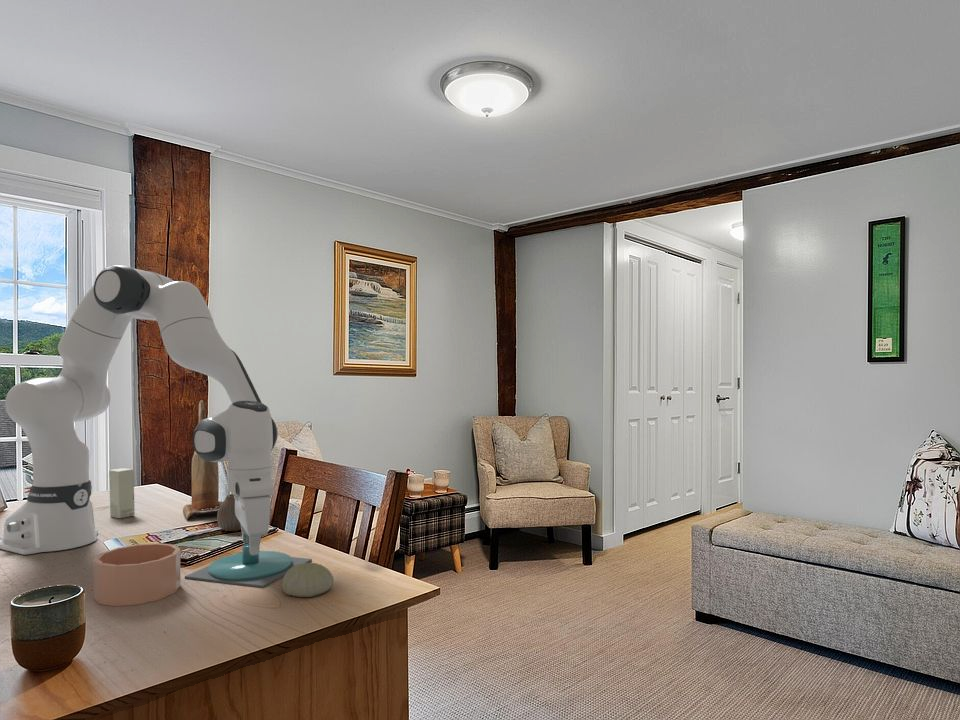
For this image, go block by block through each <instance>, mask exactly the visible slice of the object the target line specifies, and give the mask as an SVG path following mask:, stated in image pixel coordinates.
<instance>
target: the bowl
mask: <svg viewBox="0 0 960 720" xmlns="http://www.w3.org/2000/svg"><path fill="white" fill-rule="evenodd" d="M180 587H181V548H179V547H178V546H177V545H175V544H169V543H162V542H161V543H160V542H157V543H156V542H155V543H154V542H153V543H138V544H133V545H132V544H131V545H127V546H122V547H120V546H119V547H116V548H114V549H110V550H108V551H104V552H102V553H99V554H98V555H97V556H96V557H95V558H93V600H95V602H96V603H97V604H98V605H103V606H109V607H110V606H112V607H122V606H124V607H125V606H135V605H136V606H138V605H143V604H146V603H151V602H155V601H159V600H162V599H164V598H166V597H169V596H171V595H172V594H175V593H177V591H179V588H180Z"/></svg>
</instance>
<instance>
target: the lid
mask: <svg viewBox="0 0 960 720" xmlns="http://www.w3.org/2000/svg"><path fill="white" fill-rule="evenodd" d="M249 545H250V543H244V544H242V549H241V552H242V553H238V552H237V553H238V554H236V553H233V554H229V555H226V556H222V557H220V558H218V559H215V560H213V561H211V563H209V565H208V566H209V575H210V576H212V577H214V578H217V579H221V580H232V581H241V580H253V579H260V578H265V577H269V576H273V575H276V574H279V573H281V572H283V571H285V570H287V569H288V568H289V567H290V566H291V557H292V556H291V555H289V554H287V553H285V552H280V551H276V550H275V551H273V550H272V551H271V550H260V552H259V554H258V555H251V554H250V552H249Z"/></svg>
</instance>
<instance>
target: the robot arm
mask: <svg viewBox="0 0 960 720" xmlns="http://www.w3.org/2000/svg"><path fill="white" fill-rule="evenodd" d="M134 319H136V320H140V321H141V320H147V321H154V322H157V324H158V328H159V331H160V336H161V339H162V342H163V347H164V349H165V351H166V352H167V353H166V354H167V355H168V356H169V358H170V359H171V361H173V362H174V363H176V364H177V365H179V366H181V367H182V368H184V369H187V370H190V371H193V372H197V373H199V374H202V375H205V376H208V377H210V378H212V379H214V380H216V381H217V382H218V383H219V384H220V385H222V387H223V388H224V389H225V391H226V394H227V396H228V398H229V400H230V402H231V404H230V405H229V406H228V407H227V409H226V410H224V411H223V412H220V413H218V414H216V415H213V416H210V417H206V419H203V420H202V421H200V422H199V421H198V423H199V424H198V423H197V425H196V426H195V429H194V430H193V433H192V434H193V435H192V445H193V446H192V447H193V449H194V452H196V453H197V455H198V456H199V457H200V458H201V459H203V460H204V461H206V462H218V463H220V462H221V463H222V462H227V470H226V471H227V472H226V473H227V475H226V476H227V480H226V481H227V486H226V488H227V491H228V492H230V493H232V494H234V498H235V515H236V517H237V519H238V520H239V522H240V523H241V529H240V530H241V541H242V542H243V543H244V544H250V545H249V552H250V554H251V555H258V554H259V552H260V551H261V550H260V548H261V547H260V545H261V542H262V536H263V537H264V536H267V535H268V532H269V528H270V520H271V519H270V518H271V504H272V503H271V502H272V501H271V496H273V495H274V494H275V493H274V492H275V488H274V486H275V485H274V476H273V475H274V471H273V470H274V463H273V459H272V450H273V449H274V447H275V446H276V444H277V441H278V437H279V436H278V435H279V434H278V433H279V432H278V428H277V425H276V423H275V421H274V419H273V417H272V415H271V412H270V408H269V407H268V406H267V405H266V404H264V403H262V400H261V398H260V396H259V395H258V392H257V390H256V388H255V386H254V384H253V382H252V380H251V378H250V375H249V373H248V372H247V370H246V367H245V366H244V364H243V362H242V360H241V359H240V357H239V355H238V354H237V353H236V352H235V351H234V350H233V349H231V348H230V346H228V345H227V343H226V342H225V340H224V339H223V338H222V336H221V335H220V333H219V331H218V329H217V328H216V325H215V322H214V319H213V316H212V314H211V311H210V309H209V306H208V304H207V302H206V300H205V297H204V296H203V295H202V293H201V292H200V289H199V288H198V286H196V285H195V284H193V283H192V282H189V281H183V280H177V279H174V278H171V277H167V276H165V275H162V274H160V273H157V272H154V271H150V270H143V269H139V268H133V267H130V266H126V265H110V266H107V267H104V269H102V270H101V271H100V272H98V274H97V276H96V277H95V280H94V284H93V285H92V286H91V287H90V288H89V290H88V291H87V292H86V293H85V295H84V296H83V297H82V299H81V300H80V302H79V304H78V305H77V307H76V309H75V310H74V312H73V314H72V316H71V318H70V320H69V322H68V324H67V326H66V328H65V330H64V333H63V334H62V336H61V338H60V340H59V342H58V344H57V350H58V351H57V352H58V354H59V356H60V357H61V358H62V367H61V371H60V373H59V375H57V376H55V377H54V376H53V377H35V378H32V379H28V380H25V381H22V382H20V383H16V384H15V385H13V386H12V387H11V388H10V389H9V390H8V392H7V394H6V396H5V402H4V406H5V411H6V414H7V415H8V417H9V418H10V419H11V420H12V421H13V422H14V423H15V424H16V425H18V426H19V427H20V429H22V430H23V433H24V435H25V436H26V438H27V440H28V444H29V447H30V450H31V456H32V457H31V458H32V485H31V486H28V487H24V490H25V491H24V492H23V493H24V494H28V495H27V498H26V502H24V504H22V505H21V506H20V507H19V508H18V509H16V510H15V511H14V512H12V513H11V514H10V515H9V516H8V517H7V518H6V519H5V521H4V524H3V526H4V527H3V536H1V537H0V550H4V551H8V552H12V553H15V554H20V555H32V554H39V553H44V552H45V553H47V552H57V551H62V550H63V551H64V550H69V549H75V548H79V547H83V546H86V545H89V544H92V543H93V542H96V541H97V539H98V534H99V529H98V528H96V524H95V514H94V506H93V502H92V500H91V496H92V489H93V488H92V487H93V485H92V481H91V479H90V451H89V448H88V446H87V445H86V443H84V442H82V441H81V440H80V438H79V437H78V434H77V433H76V429H75V426H74V424H75V423H77V422H78V423H79V422H84V421H85V422H86V421H88V420H91V419H93V418H95V417H98V416H100V415H102V414H103V413H105V411H107V410H108V408H109V406H110V403H111V392H110V389H109V387H108V385H107V376H108V370H109V366H110V364H111V362H112V360H113V357H114V356H115V353H116V350H117V348H118V347H119V344H120V342H121V341H122V338H123V336H124V334H125V333H126V330H127V328H128V325H129V323H130V322H131V321H132V320H134Z"/></svg>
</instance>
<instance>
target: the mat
mask: <svg viewBox="0 0 960 720" xmlns="http://www.w3.org/2000/svg"><path fill="white" fill-rule="evenodd" d="M238 553H242V551H239V552H237V553H235V554H238ZM290 557H291V566H290V567H289V568H288V569H287V570H285V571H283V572H281V573H279V574H276V575H273V576H269V577H265V578H260V579H253V580H241V581H232V580H221V579H217V578H214V577H212V576H210V575H209V565H207V566H204V567H203V568H200V569H198V570H196V571H194V572H191V573H189V574H187V575H184V579H186V580H195V581H203V582H204V581H205V582H213V583H221V584H229V585H236V586H237V585H238V586H244V587H245V586H246V587H255V588H262V589H263V588H265V587H267V586H269V585H271V584H273V583H275V582H276V581H278V580H280V579H281V578H282V579H283V578H284V576H285V574H286V573H287V571H288V570H289V569H291V567H294V566H295V565H297V564H302V563H311V562H312V558H307V557H306V558H305V557H304V558H303V557H296V556H295V557H294V556H290Z"/></svg>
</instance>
